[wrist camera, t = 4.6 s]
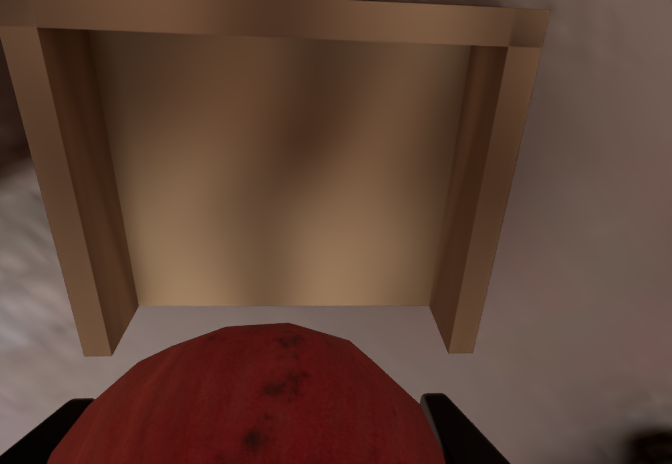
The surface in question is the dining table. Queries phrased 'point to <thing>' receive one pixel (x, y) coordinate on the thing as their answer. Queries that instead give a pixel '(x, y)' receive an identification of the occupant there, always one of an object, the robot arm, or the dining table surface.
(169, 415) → the pomegranate
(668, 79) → the dining table surface
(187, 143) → the shallow wooden tray
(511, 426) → the dining table surface
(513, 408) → the dining table surface
